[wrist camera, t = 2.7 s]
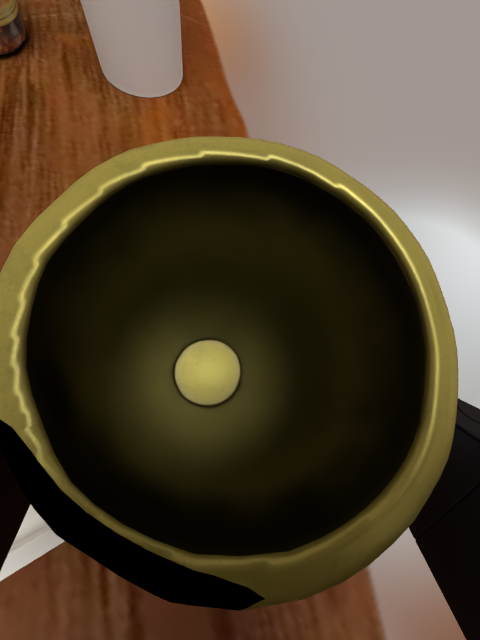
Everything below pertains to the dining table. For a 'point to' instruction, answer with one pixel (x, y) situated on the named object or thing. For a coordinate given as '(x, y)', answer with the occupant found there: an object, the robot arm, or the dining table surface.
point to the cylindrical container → (137, 44)
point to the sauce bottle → (10, 27)
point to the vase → (225, 371)
